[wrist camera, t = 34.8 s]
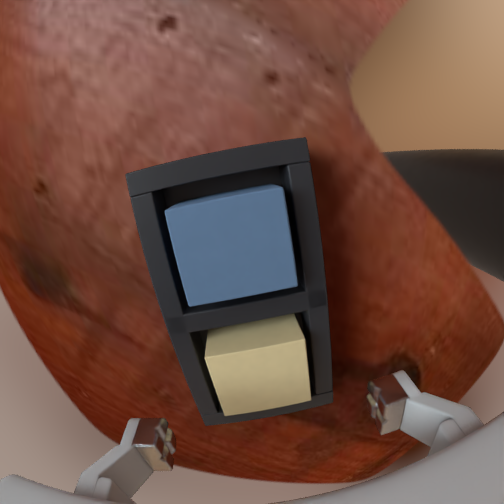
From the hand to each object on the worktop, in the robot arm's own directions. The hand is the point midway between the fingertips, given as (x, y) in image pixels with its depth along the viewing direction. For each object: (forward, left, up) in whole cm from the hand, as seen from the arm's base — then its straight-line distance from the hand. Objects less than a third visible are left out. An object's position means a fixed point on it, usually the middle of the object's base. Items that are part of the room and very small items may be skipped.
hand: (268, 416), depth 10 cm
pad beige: (0, 0, -6) cm, 6 cm away
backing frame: (0, -3, -7) cm, 7 cm away
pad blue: (0, -6, -6) cm, 8 cm away
